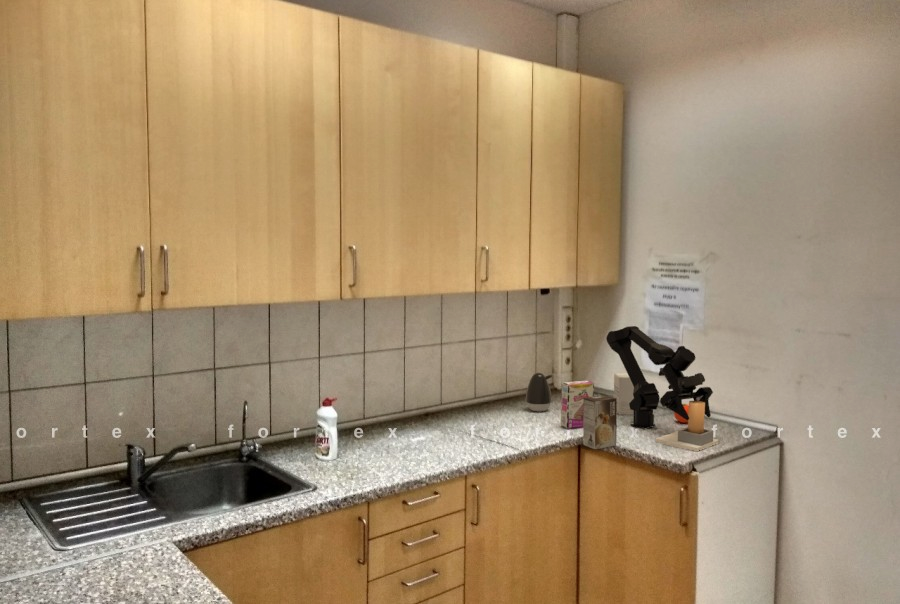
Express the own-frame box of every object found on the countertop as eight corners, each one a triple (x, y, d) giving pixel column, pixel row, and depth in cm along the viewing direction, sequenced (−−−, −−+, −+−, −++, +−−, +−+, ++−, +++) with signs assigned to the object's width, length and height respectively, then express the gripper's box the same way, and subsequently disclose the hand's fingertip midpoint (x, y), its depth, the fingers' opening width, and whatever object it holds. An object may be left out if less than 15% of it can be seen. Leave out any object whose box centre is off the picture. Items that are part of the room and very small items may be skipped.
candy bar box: (567, 429, 257) (568, 384, 255) (560, 426, 261) (560, 382, 260) (594, 426, 261) (594, 382, 260) (586, 423, 266) (586, 379, 264)
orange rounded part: (686, 441, 237) (688, 403, 235) (688, 438, 241) (689, 400, 240) (702, 443, 235) (704, 404, 233) (703, 440, 239) (705, 401, 238)
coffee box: (604, 441, 242) (605, 394, 241) (616, 446, 236) (617, 398, 235) (582, 444, 238) (583, 397, 237) (594, 449, 232) (595, 401, 231)
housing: (655, 442, 241) (656, 428, 240) (677, 434, 250) (677, 421, 250) (697, 451, 230) (697, 437, 229) (718, 443, 239) (718, 429, 239)
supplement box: (635, 409, 287) (636, 372, 286) (641, 415, 278) (642, 377, 277) (613, 409, 287) (613, 372, 286) (618, 415, 278) (619, 377, 277)
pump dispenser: (553, 413, 281) (553, 375, 280) (526, 413, 281) (527, 375, 280) (550, 407, 291) (550, 370, 290) (524, 407, 292) (524, 370, 290)
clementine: (670, 419, 271) (671, 400, 271) (689, 419, 271) (690, 401, 270) (676, 424, 263) (677, 405, 263) (695, 425, 263) (696, 406, 263)
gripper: (666, 367, 235) (690, 407, 226) (709, 363, 243) (734, 401, 234) (650, 386, 243) (672, 426, 234) (692, 382, 251) (715, 420, 242)
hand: (699, 418), depth 236 cm, fingers open, 9 cm apart
